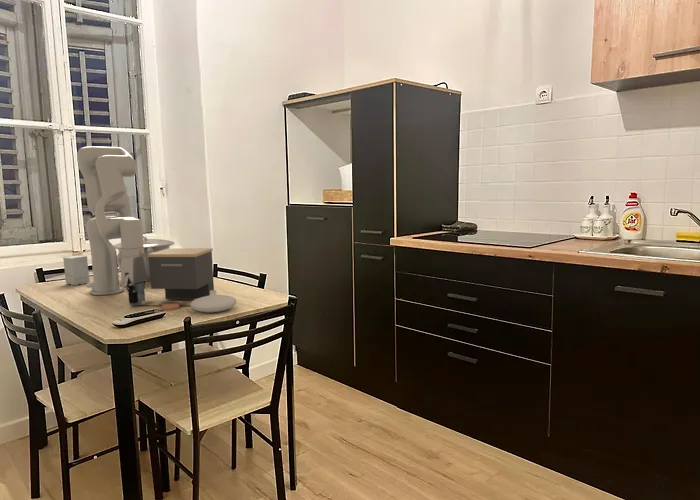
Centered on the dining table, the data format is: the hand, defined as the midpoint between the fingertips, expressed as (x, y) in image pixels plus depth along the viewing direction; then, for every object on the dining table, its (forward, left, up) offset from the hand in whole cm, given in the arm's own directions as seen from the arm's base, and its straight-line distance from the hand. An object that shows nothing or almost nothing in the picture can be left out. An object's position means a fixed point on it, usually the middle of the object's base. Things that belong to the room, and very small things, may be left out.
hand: (137, 300), depth 185 cm
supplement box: (-52, +38, -2) cm, 64 cm away
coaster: (+15, -4, -2) cm, 16 cm away
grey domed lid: (+32, -5, -2) cm, 33 cm away
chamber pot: (-25, +50, -2) cm, 57 cm away
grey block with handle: (+10, 0, -1) cm, 10 cm away
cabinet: (+14, +9, -2) cm, 17 cm away
